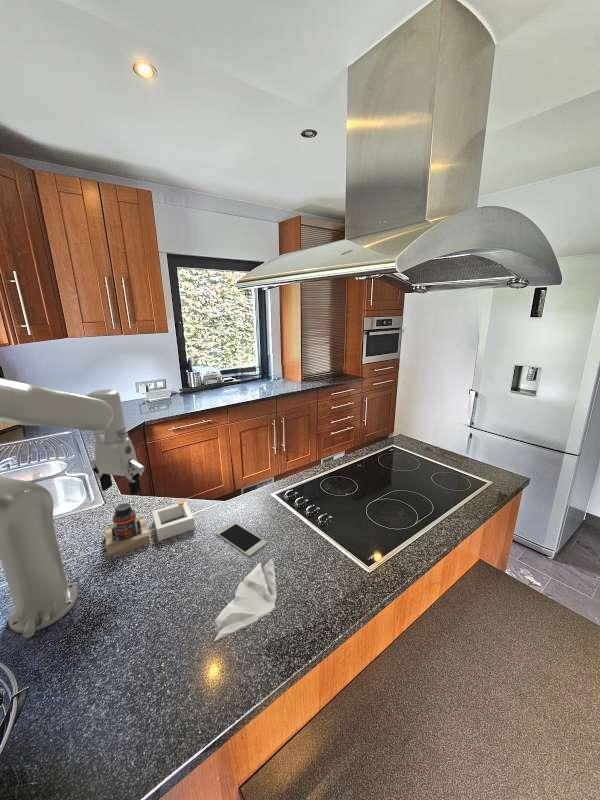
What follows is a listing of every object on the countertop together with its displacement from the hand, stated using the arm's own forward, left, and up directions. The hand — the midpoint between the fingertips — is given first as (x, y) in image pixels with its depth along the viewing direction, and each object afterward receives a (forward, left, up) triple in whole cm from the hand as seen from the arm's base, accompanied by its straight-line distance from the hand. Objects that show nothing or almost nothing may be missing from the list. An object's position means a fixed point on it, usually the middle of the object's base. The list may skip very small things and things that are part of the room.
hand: (121, 490), depth 93 cm
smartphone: (-17, -29, -17) cm, 37 cm away
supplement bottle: (0, 0, -16) cm, 16 cm away
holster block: (0, 0, -16) cm, 16 cm away
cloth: (-38, -23, -17) cm, 48 cm away
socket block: (0, -13, -16) cm, 20 cm away
